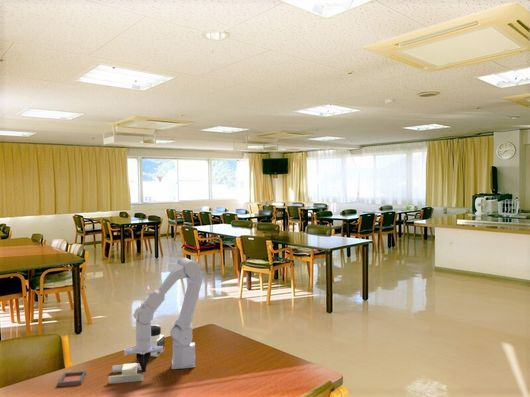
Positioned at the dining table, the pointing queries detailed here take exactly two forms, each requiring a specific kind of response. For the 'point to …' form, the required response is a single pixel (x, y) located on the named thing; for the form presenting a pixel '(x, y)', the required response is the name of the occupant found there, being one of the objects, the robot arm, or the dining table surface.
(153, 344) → the medicine bottle
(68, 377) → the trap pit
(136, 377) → the channel
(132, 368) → the block
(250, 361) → the dining table surface
